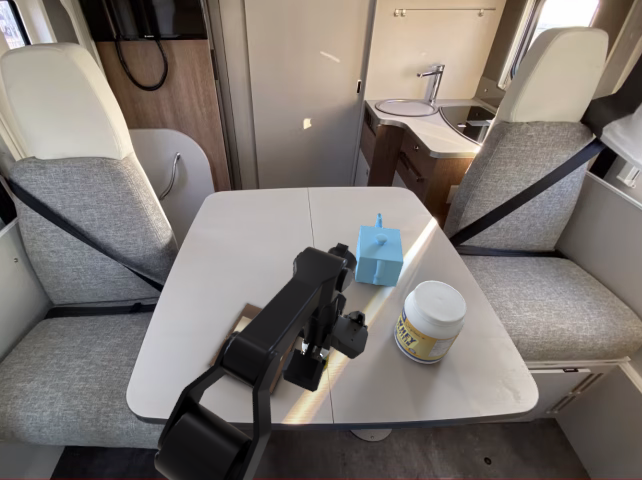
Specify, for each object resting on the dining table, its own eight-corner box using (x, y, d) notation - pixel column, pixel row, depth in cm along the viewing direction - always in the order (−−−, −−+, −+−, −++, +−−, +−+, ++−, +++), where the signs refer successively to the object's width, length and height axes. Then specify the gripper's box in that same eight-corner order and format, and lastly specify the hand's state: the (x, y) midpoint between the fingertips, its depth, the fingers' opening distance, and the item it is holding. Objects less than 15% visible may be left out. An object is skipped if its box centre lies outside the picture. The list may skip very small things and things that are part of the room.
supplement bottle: (314, 344, 66) (315, 319, 59) (333, 361, 63) (337, 337, 56) (296, 362, 63) (296, 337, 56) (316, 381, 60) (318, 357, 54)
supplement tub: (384, 324, 79) (398, 282, 68) (427, 314, 81) (447, 271, 70) (409, 371, 70) (430, 331, 59) (457, 359, 72) (485, 318, 61)
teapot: (395, 298, 85) (406, 264, 76) (354, 293, 86) (360, 259, 78) (390, 243, 101) (399, 210, 92) (356, 239, 103) (361, 207, 94)
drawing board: (271, 394, 67) (271, 392, 66) (209, 366, 72) (208, 363, 71) (301, 325, 79) (301, 322, 78) (247, 305, 84) (246, 302, 83)
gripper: (352, 383, 42) (342, 423, 52) (378, 283, 55) (366, 330, 65) (278, 353, 45) (282, 396, 55) (319, 265, 58) (316, 313, 68)
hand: (315, 356), depth 61 cm, fingers closed on supplement bottle, 5 cm apart
